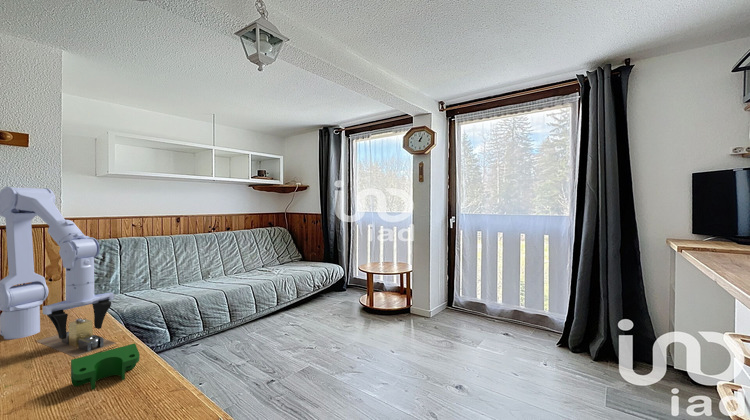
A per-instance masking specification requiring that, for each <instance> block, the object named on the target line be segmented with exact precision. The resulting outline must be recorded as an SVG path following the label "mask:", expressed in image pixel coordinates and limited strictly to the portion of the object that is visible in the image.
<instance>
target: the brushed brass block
mask: <svg viewBox="0 0 750 420" xmlns="http://www.w3.org/2000/svg"><path fill="white" fill-rule="evenodd" d="M93 329H94V328H93V320H90V319H87V318H83V319H82V318H76V319H75V321H74V320H73V321H70V322H68V331H69V345H71V346H73V347H76V348H77V347H78V339H81V338H82V339H83V338H85V337H88V336H91V335H94V334H93Z"/></svg>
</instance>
